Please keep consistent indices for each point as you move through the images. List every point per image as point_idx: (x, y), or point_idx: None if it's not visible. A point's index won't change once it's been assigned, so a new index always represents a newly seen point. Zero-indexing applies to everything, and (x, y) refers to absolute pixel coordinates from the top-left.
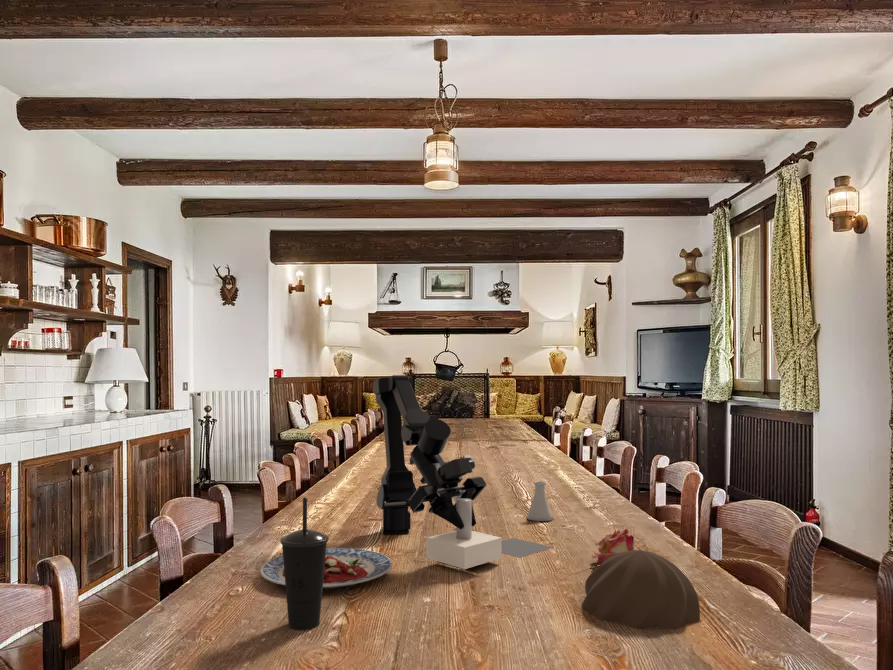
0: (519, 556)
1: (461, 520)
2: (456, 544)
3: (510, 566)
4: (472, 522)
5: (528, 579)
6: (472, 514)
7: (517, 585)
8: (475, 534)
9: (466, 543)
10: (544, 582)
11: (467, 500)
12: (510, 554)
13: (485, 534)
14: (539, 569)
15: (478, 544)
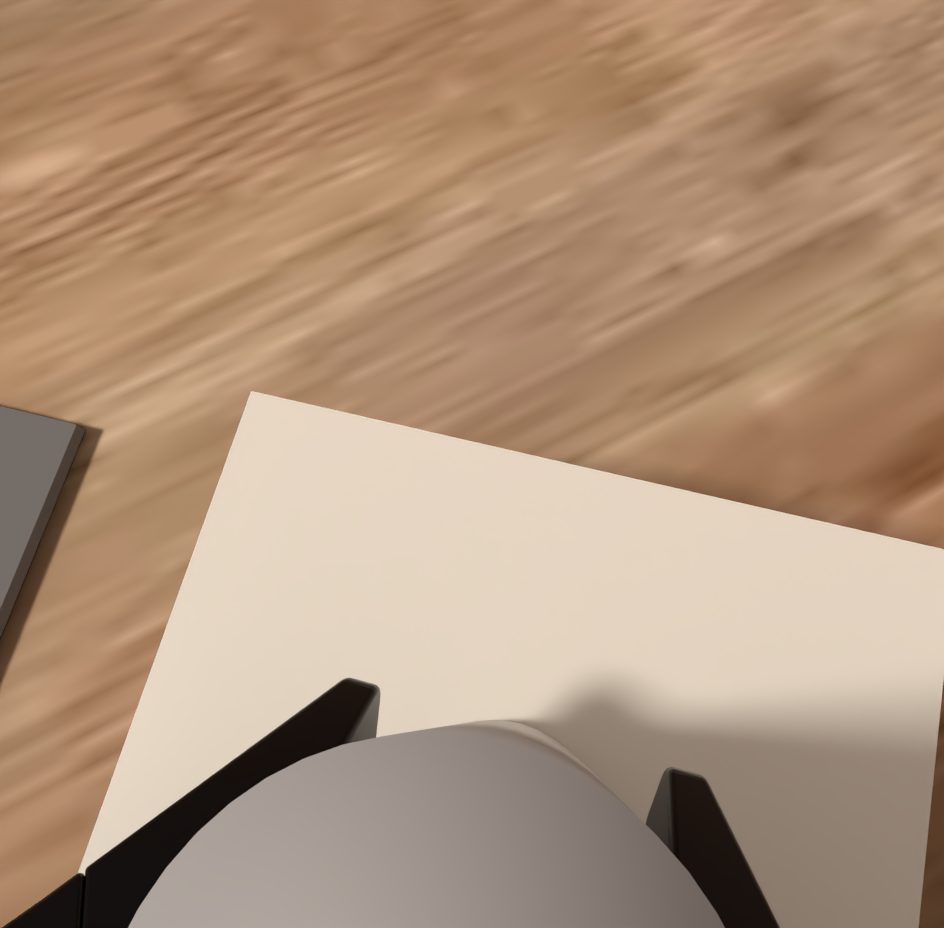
0: (49, 442)
1: (689, 854)
2: (896, 739)
3: None
4: None
5: (569, 155)
6: None
7: (746, 157)
8: None
9: (757, 640)
10: (570, 47)
11: (467, 875)
12: (14, 542)
13: (179, 650)
14: (291, 192)
15: (681, 490)
